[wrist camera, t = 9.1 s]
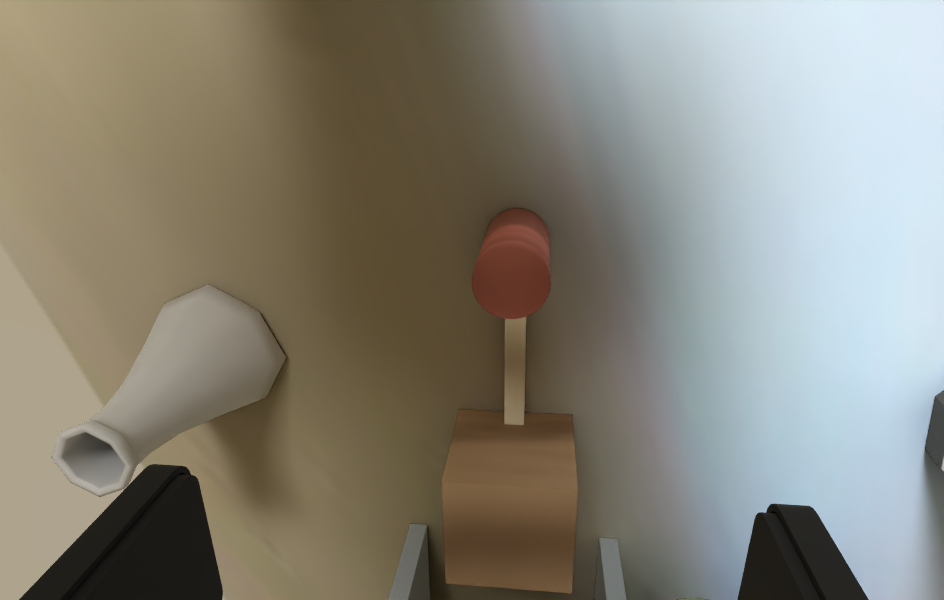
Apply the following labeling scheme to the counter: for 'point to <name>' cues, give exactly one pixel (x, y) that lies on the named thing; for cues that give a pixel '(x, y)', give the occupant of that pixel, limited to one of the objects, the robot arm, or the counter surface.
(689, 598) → the jar
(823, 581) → the robot arm
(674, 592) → the counter surface
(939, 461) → the wine bottle
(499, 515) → the block
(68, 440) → the flask
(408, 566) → the lane shelf
